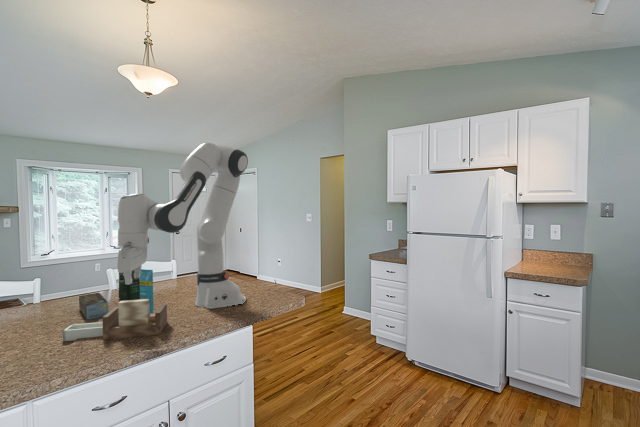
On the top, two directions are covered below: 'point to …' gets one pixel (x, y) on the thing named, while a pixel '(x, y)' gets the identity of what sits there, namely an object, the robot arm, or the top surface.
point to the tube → (147, 287)
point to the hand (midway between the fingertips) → (132, 280)
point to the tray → (83, 331)
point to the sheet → (134, 312)
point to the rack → (114, 331)
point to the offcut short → (152, 317)
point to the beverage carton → (93, 305)
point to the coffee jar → (129, 288)
